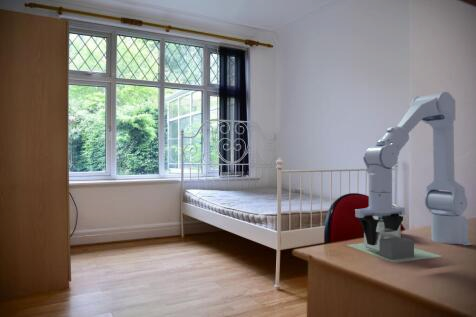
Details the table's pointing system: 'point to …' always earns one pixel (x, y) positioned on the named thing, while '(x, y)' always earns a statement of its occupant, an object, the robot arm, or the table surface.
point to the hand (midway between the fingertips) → (380, 243)
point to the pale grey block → (381, 236)
